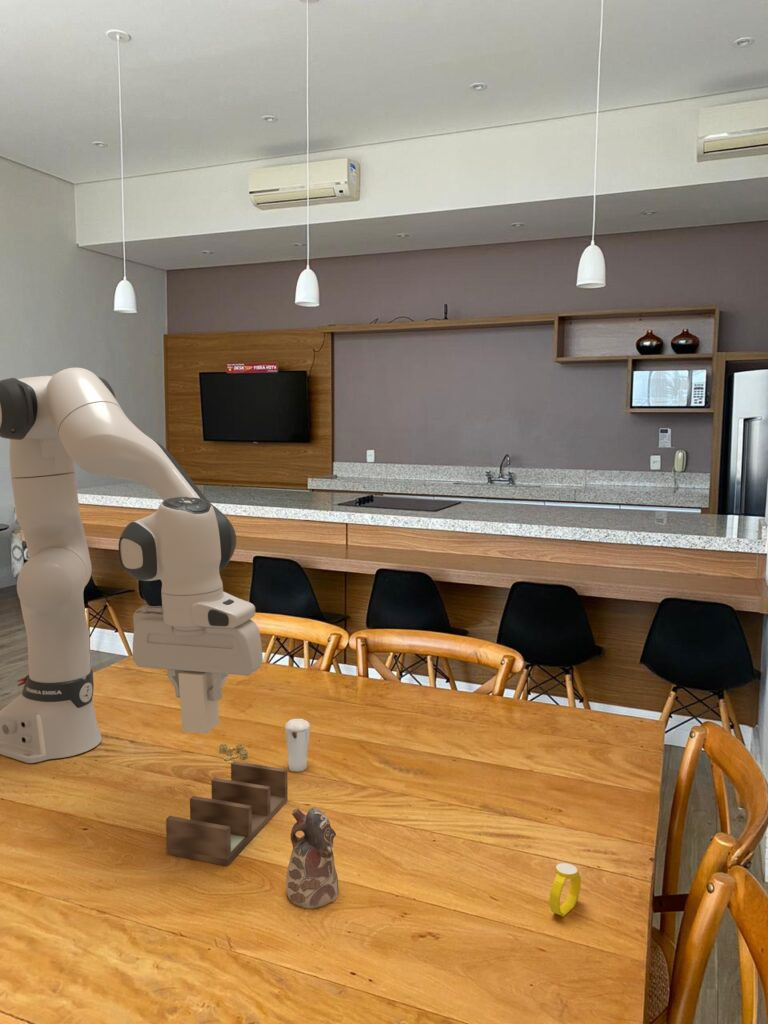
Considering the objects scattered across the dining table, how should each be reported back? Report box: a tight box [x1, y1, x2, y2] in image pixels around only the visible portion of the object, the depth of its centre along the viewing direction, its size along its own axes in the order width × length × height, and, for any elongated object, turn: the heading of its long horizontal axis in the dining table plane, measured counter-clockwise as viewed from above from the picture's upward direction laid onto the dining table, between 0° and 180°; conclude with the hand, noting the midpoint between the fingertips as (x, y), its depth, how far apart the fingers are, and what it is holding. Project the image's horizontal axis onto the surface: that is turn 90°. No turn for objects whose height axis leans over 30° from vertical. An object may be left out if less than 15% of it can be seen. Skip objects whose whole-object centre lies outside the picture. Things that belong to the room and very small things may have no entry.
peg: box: [178, 670, 220, 735], centre depth 120 cm, size 4×4×9 cm
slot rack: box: [165, 760, 289, 867], centre depth 126 cm, size 10×21×6 cm, turn 163°
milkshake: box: [284, 716, 314, 773], centre depth 146 cm, size 4×5×10 cm
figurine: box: [285, 807, 340, 910], centre depth 108 cm, size 7×7×12 cm
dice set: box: [218, 743, 249, 762], centre depth 152 cm, size 5×5×2 cm
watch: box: [548, 862, 582, 918], centre depth 105 cm, size 6×3×6 cm, turn 139°
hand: (199, 698), depth 120 cm, fingers closed on peg, 4 cm apart
